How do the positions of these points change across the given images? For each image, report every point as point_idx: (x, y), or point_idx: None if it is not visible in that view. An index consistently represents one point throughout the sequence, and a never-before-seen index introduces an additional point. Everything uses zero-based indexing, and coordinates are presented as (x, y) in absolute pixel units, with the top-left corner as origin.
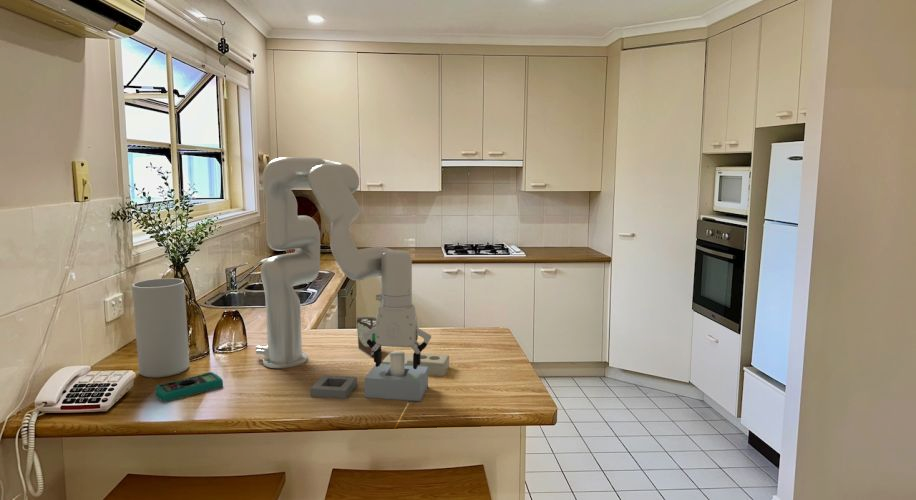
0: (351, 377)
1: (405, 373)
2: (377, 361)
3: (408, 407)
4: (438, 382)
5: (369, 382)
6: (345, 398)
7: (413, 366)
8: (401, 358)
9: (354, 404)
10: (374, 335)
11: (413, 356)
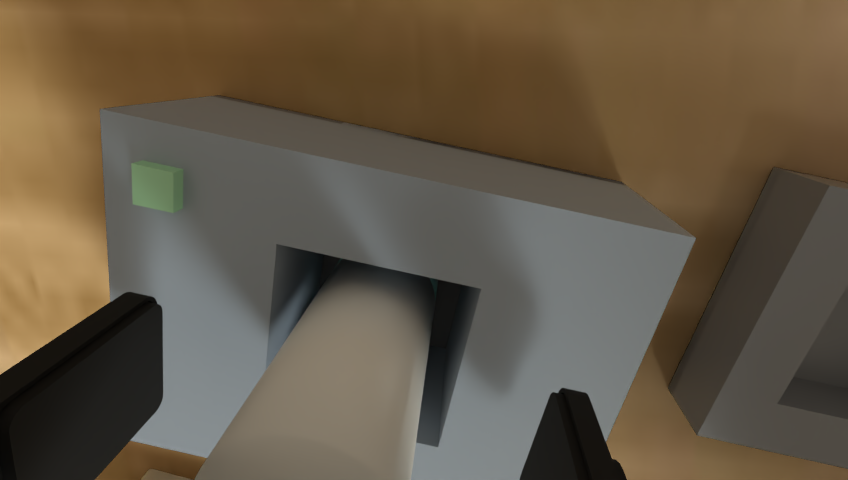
0: (739, 432)
1: None
2: (579, 431)
3: (293, 15)
4: None
5: (627, 211)
6: (781, 172)
7: (141, 312)
8: (245, 413)
9: (708, 89)
10: None
11: (32, 392)
